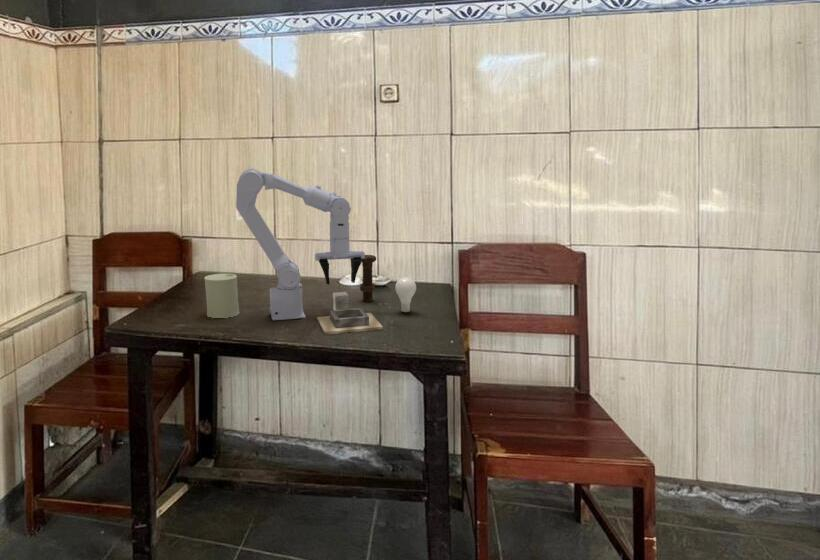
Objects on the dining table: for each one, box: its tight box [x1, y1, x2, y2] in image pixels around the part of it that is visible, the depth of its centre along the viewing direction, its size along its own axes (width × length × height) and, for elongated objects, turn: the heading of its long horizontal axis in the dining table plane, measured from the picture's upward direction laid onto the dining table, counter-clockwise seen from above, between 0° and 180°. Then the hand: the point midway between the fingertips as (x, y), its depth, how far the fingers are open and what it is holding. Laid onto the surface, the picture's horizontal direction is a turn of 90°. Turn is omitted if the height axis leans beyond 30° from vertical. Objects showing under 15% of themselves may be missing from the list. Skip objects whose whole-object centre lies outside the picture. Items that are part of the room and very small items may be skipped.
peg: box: [332, 291, 350, 310], centre depth 163 cm, size 4×4×6 cm
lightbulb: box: [394, 276, 417, 314], centre depth 163 cm, size 6×6×11 cm
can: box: [204, 273, 240, 319], centre depth 159 cm, size 9×9×12 cm
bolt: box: [359, 254, 377, 303], centre depth 175 cm, size 6×5×15 cm
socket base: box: [316, 307, 384, 336], centre depth 152 cm, size 16×14×3 cm
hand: (340, 282), depth 161 cm, fingers open, 7 cm apart
